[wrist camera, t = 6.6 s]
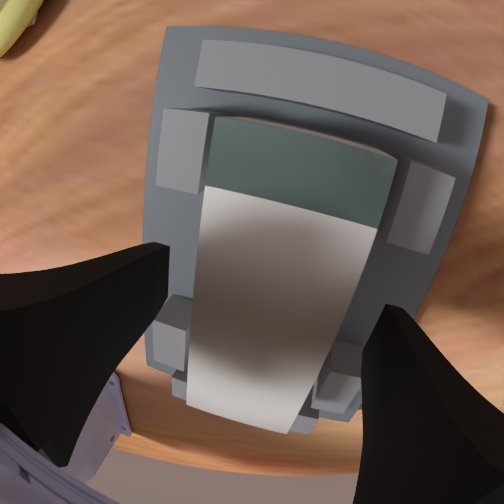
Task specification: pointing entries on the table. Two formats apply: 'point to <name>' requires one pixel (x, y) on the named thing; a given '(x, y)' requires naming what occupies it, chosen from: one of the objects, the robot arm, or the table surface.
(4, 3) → the emoji
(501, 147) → the table surface
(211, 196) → the light grey tapered block
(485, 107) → the cradle
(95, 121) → the table surface
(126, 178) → the table surface
